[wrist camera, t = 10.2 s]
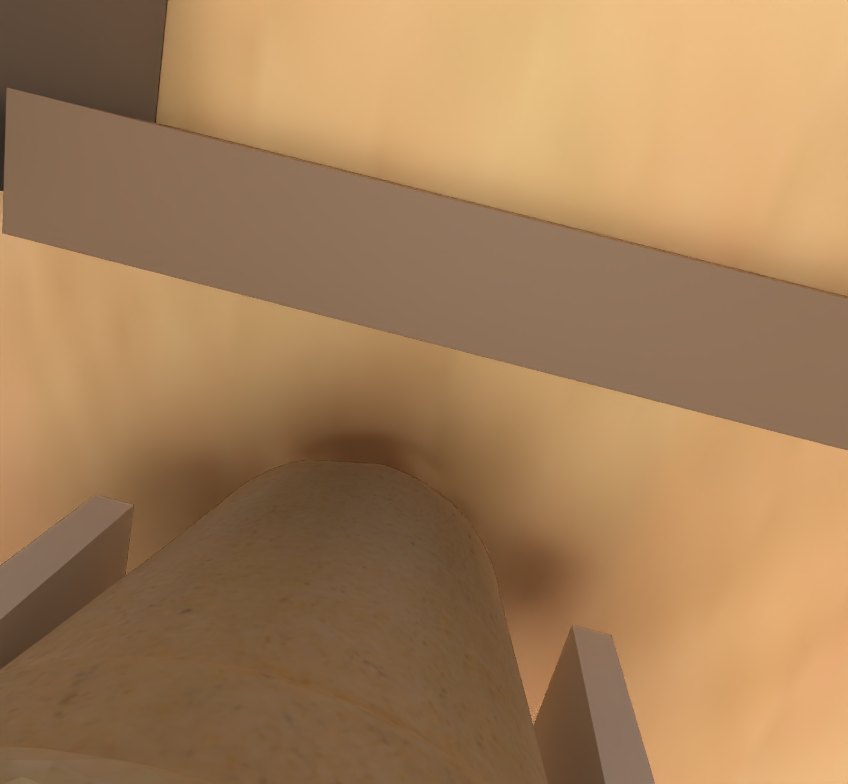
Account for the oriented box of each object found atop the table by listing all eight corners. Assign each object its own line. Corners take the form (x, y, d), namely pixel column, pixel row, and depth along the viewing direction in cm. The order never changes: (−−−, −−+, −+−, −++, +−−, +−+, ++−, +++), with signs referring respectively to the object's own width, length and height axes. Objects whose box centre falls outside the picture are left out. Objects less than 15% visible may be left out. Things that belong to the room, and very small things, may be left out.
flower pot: (468, 829, 15) (451, 1644, 6) (85, 682, 14) (-453, 1333, 6) (663, 489, 12) (1087, 1159, 4) (190, 299, 12) (-546, 542, 3)
